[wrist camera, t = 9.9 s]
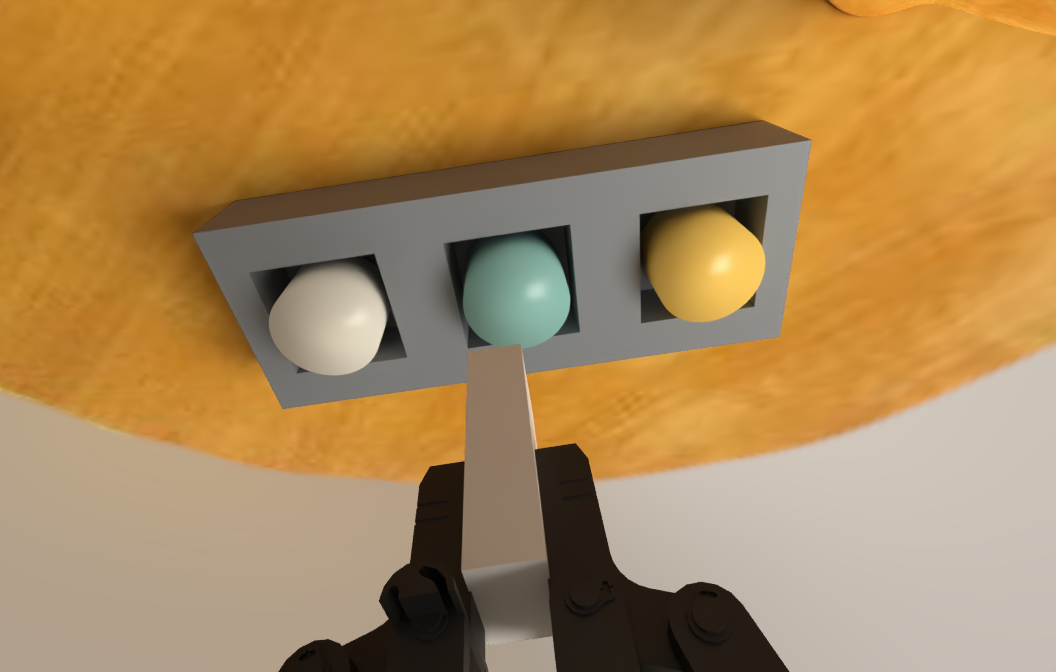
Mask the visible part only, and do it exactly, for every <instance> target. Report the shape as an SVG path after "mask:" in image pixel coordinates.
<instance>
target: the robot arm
mask: <svg viewBox="0 0 1056 672" xmlns="http://www.w3.org/2000/svg"><path fill="white" fill-rule="evenodd" d="M415 523H416V525H415V527H414V535H413V543H412V551H411V560H410V563H409V564H407V565H405V566H404V567H403V568H401V569H399V570H398V571H397V572H395V573H394V574H393V575H392V577H391V578H390V579H389V580H388V582H387V583H386V584H385V586H384V588H383V591H382V593H381V596H380V600H379V602H380V604H381V606H382V608H383V609H384V611H385V613H386V615H387V616H388V618H389V619H388V620H387V621H386V622H385V623H384V624H383V625H381V626H379V627H378V628H376V629H375V630H373V631H371V632H369V633H367V634H366V635H363V636H361V637H359V638H357V639H355V640H353V641H351V642H349V643H347V644H345V645H343V646H341V645H340V643H337V642H334V641H332V640H329V639H326V640H316V641H313V642H311V643H309V644H307V645H305V646H303V647H301V648H299V649H298V650H297V651H296V652H295V653H294V654H292V655H291V656H290V657H289V658H288V659H287V660H286V661H285V663H284V664H283V666H282V667H281V669H280V670H279V672H488V668H487V664H486V662H485V638H486V641H487V643H488V645H495V644H502V643H509V642H516V641H521V640H529V639H535V638H542V637H549V636H553V642H554V651H555V660H556V669H557V672H789V670H788V669H787V668H786V666H785V665H784V663H783V662H782V660H781V659H780V658H779V656H778V655H777V653H776V652H775V651H774V649H773V648H772V646H771V645H770V643H769V642H768V640H767V639H766V637H765V636H764V635H763V633H762V632H761V630H760V629H759V627H758V626H757V625H756V623H755V622H754V620H753V619H752V617H751V616H750V614H749V613H748V612H747V610H746V609H745V607H744V606H743V605H742V604H741V603H740V601H738V599H737V598H735V596H734V595H733V594H732V593H731V592H729V591H727V590H725V589H723V588H722V587H720V586H718V585H715V584H710V583H705V582H697V583H693V584H687V585H685V586H684V587H683V588H681V589H680V590H679V591H677V592H676V593H672V592H666V591H661V590H656V589H650V588H647V587H643V586H640V585H638V584H636V583H634V582H632V581H631V580H628V579H627V578H626V577H625V576H624V575H623V574H622V573H621V572H620V571H619V570H618V568H617V567H616V565H615V564H614V562H613V560H612V557H611V554H610V551H609V546H608V542H607V538H606V533H605V530H604V525H603V520H602V516H601V512H600V508H599V503H598V499H597V496H596V491H595V486H594V482H593V478H592V473H591V469H590V465H589V460H588V458H587V457H586V455H585V454H584V453H583V452H582V450H581V449H580V448H579V447H578V446H577V444H576V443H574V444H568V445H561V446H554V447H548V448H541V449H537V443H536V435H535V428H534V420H533V413H532V407H531V401H530V395H529V389H528V383H527V377H526V371H525V365H524V360H523V354H522V348H521V344H517V345H511V346H504V347H497V348H491V349H484V350H478V351H471V352H468V371H467V403H466V436H465V461H463V462H457V463H450V464H444V465H437V466H430V468H429V469H428V471H427V473H426V475H425V476H424V478H423V480H422V482H421V483H420V485H419V493H418V502H417V510H416V519H415Z"/></svg>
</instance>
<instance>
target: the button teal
mask: <svg viewBox="0 0 1056 672" xmlns="http://www.w3.org/2000/svg"><path fill="white" fill-rule="evenodd" d="M463 309H464V314H465V317H466V320H467V322H468V324H469V325H470V327H471V328H472V330H473V331H474V332H475V333H476V334H477V335H478V336H479V337H480V338H482V339H483V340H485V341H486V342H488V343H490V344H492V345H495V346H498V347H504V346H511V345H517V344H521V348H522V349H524V348H529V347H533V346H536V345H538V344H541V343H543V342H545V341H546V340H548V339H549V338H551V337H552V336H553V335H554V334H556V333H557V332H558V331H559V329H560V328H561V327H562V325H563V324H564V322H565V320H566V318H567V316H568V313H569V309H570V293H569V289H568V285H567V282H566V278H565V275H564V271H563V268H562V264H561V261H560V257H559V254H558V251H557V249H556V247H555V246H554V244H553V243H552V242H551V241H550V239H549V238H548V237H547V236H545V235H544V234H543V233H541V232H540V231H538V230H530V231H523V232H516V233H509V234H503V235H496V236H489V237H483V238H479V239H478V240H477V241H476V242H475V244H474V245H473V247H472V248H471V250H470V252H469V255H468V258H467V263H466V272H465V284H464V295H463Z"/></svg>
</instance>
